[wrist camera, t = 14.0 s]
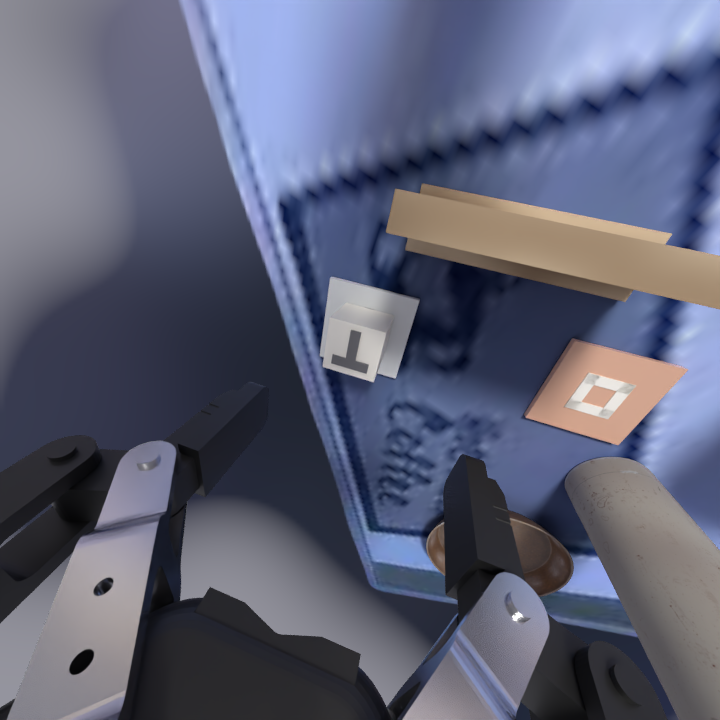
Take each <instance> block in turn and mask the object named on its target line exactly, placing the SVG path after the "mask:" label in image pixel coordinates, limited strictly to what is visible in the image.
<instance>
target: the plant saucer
mask: <svg viewBox="0 0 720 720" xmlns="http://www.w3.org/2000/svg"><path fill="white" fill-rule="evenodd" d="M507 513H509V517H510V521H511V523H510V525H511V526H512V529H513V533H514V537H515V542H516V546H517V550H518V554H519V558H520V562H521V566H522V570H523V574H524V578H525V581H526V583H527V584H528V585H529V586H530V587H531V588H532V589H533V590H534V591H535V592H536V594H537V595H538V597H540V596H545V595H548V594H551V593H554V592H556V591H558V590H559V589H561V588H562V587H564V586H565V585H566V584H567V583H568V582H569V580H570V579H571V577H572V574H573V570H574V566H573V561H572V558H571V556H570V554H569V552H568V551H567V549H566V548H565V547H564V546H563V545H562V544H561V543H560V542H559V541H558V540H557V539H556V538H555V537H554V536H553V535H552V534H550V533H549V532H548V531H547V530H545V529H544V528H543V527H541V526H540V525H538V524H537V523H535V522H534V521H532V520H530V519H529V518H527V517H525V516H523V515H520V514H518V513H515V512H512V511H509V510H508V511H507ZM426 549H427V553H428V556H429V558H430V560H431V562H432V563H433V565H434V566H435V567H436V568H437V569H438V570H439V571H440V572H441V573H442V574H443V575H445V547H444V519H443V520H441V521H440V522H439V523H438V524H437V525H436V526H435V527H434V529H433V530H432V531H431V533H430V534H429V536H428V539H427V542H426Z"/></svg>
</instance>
